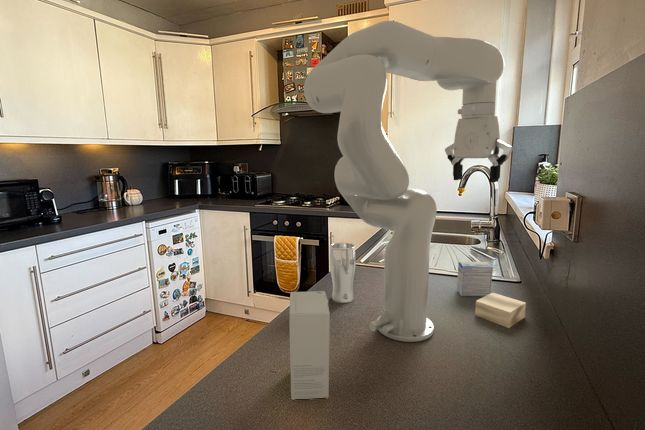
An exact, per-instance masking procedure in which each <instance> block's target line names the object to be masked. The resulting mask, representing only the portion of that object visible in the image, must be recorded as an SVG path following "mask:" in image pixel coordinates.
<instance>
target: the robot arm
mask: <svg viewBox="0 0 645 430" xmlns="http://www.w3.org/2000/svg"><path fill="white" fill-rule="evenodd" d="M504 68H505V59H504V56H503V54H502V52H501V50H500V49H499V48H498V47H496V45H494V44H492V43H489V42H487V41H485V40H483V39H477V38H469V37H468V38H467V37H466V38H465V37H450V36H449V37H448V36H433V35H431V34H428V33H426V32H423V31H421V30H419V29H416V28H413V27H411V26H409V25H407V24H404V23H401V22H399V21H395V20H384V21H379V22H378V23H375V24H373V25H369V26H367V27H365V28H362V29H359V30H357V31H354V32H352V33H350V34H349V35H348V36H346V37H345V38H344V39H343V40H341V41H340V42H339V43H338V44H337V45H336V46H335V47H334V48H333V49H331V51H330V52H329V53H328V54H327V55H326V56H325V57H324V58H323V59H321V60H320V61H319V62H318V63H316V64H315V65H314V67H312V69H311V70H310V71H309V73H308V74H307V76H306V78H305V81H304V85H303V92H304V98H305V101H306V103H307V105H309V107H310V108H311V109H313V110H314V111H315V112H318V113H321V114H332V113H338V112H340V115H339V122H338V128H337V146H338V148H339V151H340V153H341V155H342V157H340V158H339V159H338V161H337V163H336V164H335V166H334V167H335V168H334V183H335V186H336V188H337V190H338V192H339V194H340V195H341V196H342V197H343V198H344V200H345V201H346V202H347V204H348V205H349V206H350V207H351V209H352V210H353V211H354V213H356V215H357V216H358V217H359V218H360V219H361V220H362V221H363V222H364V223H366V225H368V226H370V227H371V226H372V227H374V228H379V229H382V230H383V229H384V230H387V231H388V230H389V231H391V232H393V234H392V236H391V238H390V239H389V241H388V242H387V244H386V246H385V249H384V253H383V254H384V258H383V261H384V262H383V264H384V265H383V269H384V270H383V272H384V273H383V310H381V311H380V315H379V316H378V317H377V318H376V320H372V321H371V322H369V324H368V326H369V329H370V331H372V332H376V331H378V332H380V334H382V336H384V337H387V338H388V339H392V340H394V341H399V342H406V343H414V342H417V343H418V342H421V341H424V340H425V341H426V340H427V339H429V338H431V337H432V335H433V334H434V330H435V329H434V328H435V326H434V323H433V322H432V321H431V320H430V319H429V318H428V303H429V302H428V300H429V299H428V298H429V297H428V295H429V278H430V277H429V276H430V275H429V273H430V254H431V253H430V251H431V240H432V235H433V229H434V226H435V222H436V216H437V212H438V211H437V210H438V209H437V203H436V200H435V199H434V198H433V196H431V194H429V193H428V192H426V191H423V190H421V189H417V188H409V186H410V177H409V172H408V170H407V169H406V166H405V165H404V164H405V163H403V161H402V159H401V158H400V156H399V154H398V153H397V151H396V150H395V148H394V146H393V144H392V143H391V141H390V140H389V138H388V137H387V134H386V132H385V130H384V127H383V123H382V122H383V121H382V118H383V117H382V113H383V105H384V101H385V95H386V92H387V86H388V77H387V74H391V75H396V76H399V77H404V78H407V79H410V80H415V81H421V82H435V81H436V83H437V84H438V86H439V87H441V88H442V89H443V90H446V91H458V90H462V100H461V101H462V103H461V108H459V109H457V114H458V115H461V118H458V120H457V122H456V123H457V124H456V127H455V134H454V142H453V143H452V144H450V145H449V146H447V147H445V148H444V152H445V155H446V156H447V159H448V160H449V162H450V163H451V165H452V166H453V167H452V176H453V181H460V180H462V179H463V170H464V168H463V167H464V166H463V164H461V163H463V161H464V160H465V159H488V160H489V161H490V163H491V164H492V165H490V168H489V183H497V182H499V179H500V178H501V166H503V164H504V163H505V162H506V161H507V160H509V158H510V155H511V154H512V152H513V150H514V147H513V146H512V145H510V144H507V143H506V142H504V141H502V140H501V137H500V133H501V132H500V126H499V118H498V116H497V115H496V101H497V100H496V97H497V81H498V80H499V79H500V78H501V77H502V75H503V73H504ZM500 149H501V150H503V152H502V154H501V155H500V156H499V154H500Z"/></svg>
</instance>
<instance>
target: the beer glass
mask: <svg viewBox="0 0 645 430" xmlns="http://www.w3.org/2000/svg"><path fill="white" fill-rule="evenodd" d="M329 246H330V247H329V270H330V276H331V281H332V294H331V300H332V302H334V303H337V304H349V303H351V302H353V301H354V299H355V297H354V290H353V283H354V277H355V271H356V250H355V249H356V246H355V244H354V243H351V242H335V243H332V244H330V245H329Z"/></svg>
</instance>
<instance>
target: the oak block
mask: <svg viewBox="0 0 645 430" xmlns="http://www.w3.org/2000/svg"><path fill="white" fill-rule="evenodd" d="M526 306H527V303H526V302H525V301H521V300H519V299H515V298H512V297H508V296H505V295H502V294H499V293H495V292H492V291H491V293H490V294H488V295H487V296H482V297H481V298H478V299H477V300H475V307H474V308H475V310H474V316H476V317H478V318H481V319H484V320H487V321H490V322H492V323H495V324H498V325H500V326H502V327H504V328H508V329H510V328H511V327H513V326H514V325H515V324H517V323H518V322H520V321H522V320H523V319H524V318H525V317H526V308H527V307H526Z"/></svg>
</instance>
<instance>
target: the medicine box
mask: <svg viewBox="0 0 645 430" xmlns="http://www.w3.org/2000/svg"><path fill="white" fill-rule="evenodd" d="M457 263H458V267H457V283H456V290H457V292H458V294H459V295H460V296H461V297H485V296H487V295H488V294H490V293H492V283H493V282H492V279H493V269H494V267H493V266H492V265H490V264H489V262H488V261H458V262H457Z"/></svg>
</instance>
